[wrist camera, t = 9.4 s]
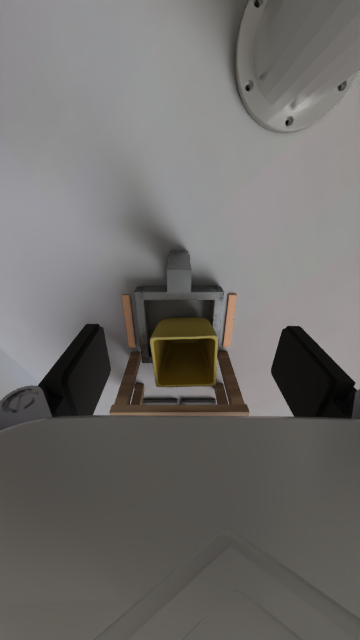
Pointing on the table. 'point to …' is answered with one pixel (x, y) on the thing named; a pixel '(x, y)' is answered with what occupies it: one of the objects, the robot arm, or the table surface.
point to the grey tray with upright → (175, 297)
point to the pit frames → (184, 402)
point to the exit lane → (227, 326)
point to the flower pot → (184, 352)
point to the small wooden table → (221, 409)
